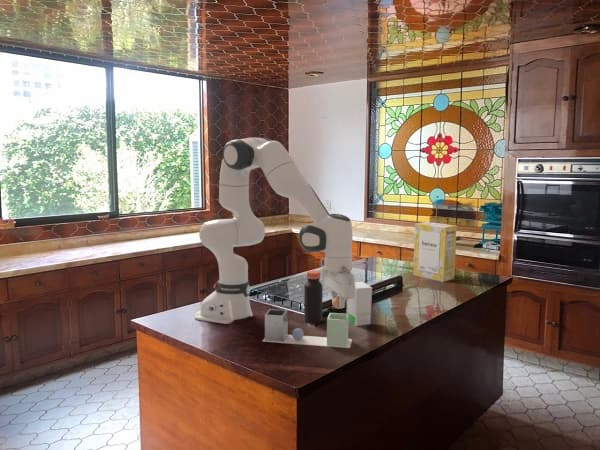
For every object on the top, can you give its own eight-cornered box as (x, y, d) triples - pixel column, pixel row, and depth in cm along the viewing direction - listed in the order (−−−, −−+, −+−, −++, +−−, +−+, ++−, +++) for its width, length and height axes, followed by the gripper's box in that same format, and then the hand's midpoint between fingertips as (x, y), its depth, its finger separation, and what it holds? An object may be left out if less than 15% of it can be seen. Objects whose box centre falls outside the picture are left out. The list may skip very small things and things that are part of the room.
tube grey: (265, 340, 160) (264, 315, 159) (269, 333, 166) (269, 309, 165) (283, 342, 159) (283, 316, 157) (287, 335, 165) (287, 310, 164)
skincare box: (345, 322, 182) (346, 282, 179) (361, 320, 184) (361, 281, 182) (355, 329, 174) (356, 288, 172) (371, 327, 176) (372, 286, 174)
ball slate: (290, 341, 159) (290, 329, 159) (293, 336, 163) (293, 325, 163) (302, 342, 159) (302, 330, 158) (304, 337, 162) (304, 326, 162)
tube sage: (326, 345, 156) (327, 319, 155) (329, 338, 162) (329, 312, 161) (346, 346, 155) (346, 320, 153) (348, 339, 161) (348, 314, 160)
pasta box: (413, 275, 255) (415, 223, 251) (424, 272, 262) (426, 221, 258) (443, 281, 241) (445, 227, 237) (454, 278, 248) (456, 225, 244)
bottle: (311, 319, 185) (311, 269, 182) (325, 322, 181) (326, 271, 178) (300, 323, 180) (300, 272, 177) (314, 327, 175) (315, 275, 173)
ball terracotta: (330, 309, 155) (331, 297, 155) (333, 306, 159) (333, 294, 158) (343, 310, 154) (343, 298, 154) (345, 307, 158) (345, 295, 157)
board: (262, 344, 160) (262, 341, 159) (268, 336, 167) (267, 333, 167) (350, 351, 154) (350, 347, 154) (352, 342, 161) (352, 339, 161)
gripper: (360, 270, 146) (360, 313, 147) (336, 257, 165) (335, 296, 167) (341, 271, 144) (341, 315, 146) (319, 258, 163) (319, 297, 165)
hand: (338, 305), depth 156 cm, fingers closed on ball terracotta, 4 cm apart
